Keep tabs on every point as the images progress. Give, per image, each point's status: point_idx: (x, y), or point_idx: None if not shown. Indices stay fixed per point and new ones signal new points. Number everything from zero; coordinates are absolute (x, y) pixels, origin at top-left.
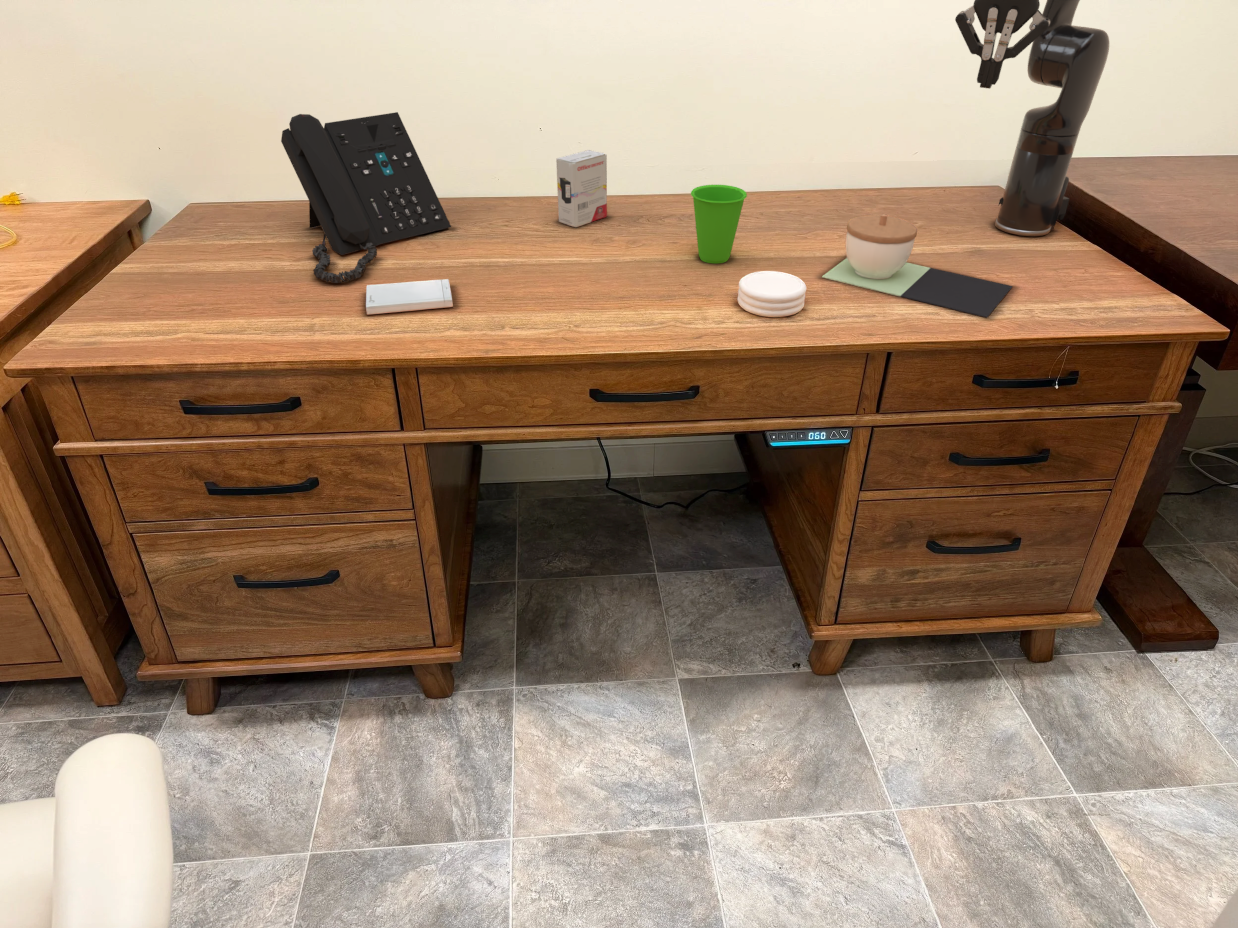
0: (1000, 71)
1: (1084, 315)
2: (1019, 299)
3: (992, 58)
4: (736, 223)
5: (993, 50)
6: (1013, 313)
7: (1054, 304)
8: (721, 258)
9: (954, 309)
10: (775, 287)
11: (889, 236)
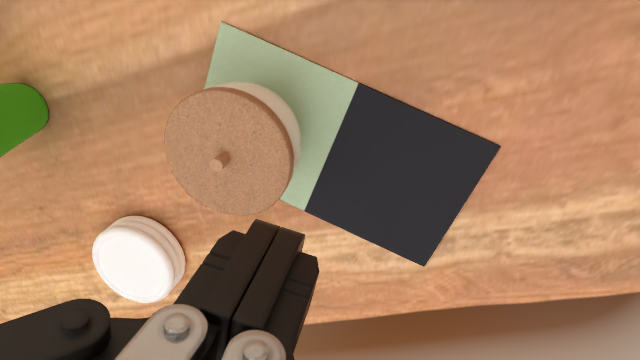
0: (308, 301)
1: (594, 242)
2: (497, 194)
3: (223, 328)
4: (5, 139)
5: (196, 352)
6: (470, 246)
7: (556, 207)
8: (39, 130)
9: (379, 245)
10: (137, 279)
11: (242, 213)
